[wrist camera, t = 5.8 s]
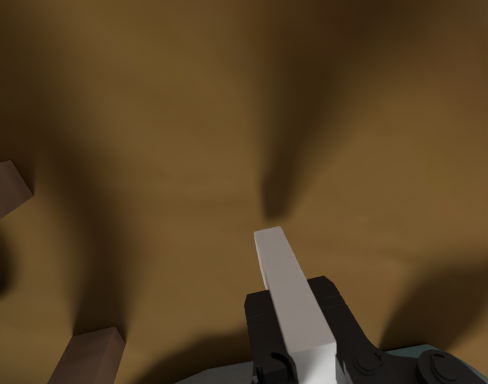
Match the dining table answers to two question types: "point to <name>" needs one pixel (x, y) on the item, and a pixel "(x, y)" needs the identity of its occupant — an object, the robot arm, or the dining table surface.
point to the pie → (223, 375)
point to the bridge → (80, 346)
